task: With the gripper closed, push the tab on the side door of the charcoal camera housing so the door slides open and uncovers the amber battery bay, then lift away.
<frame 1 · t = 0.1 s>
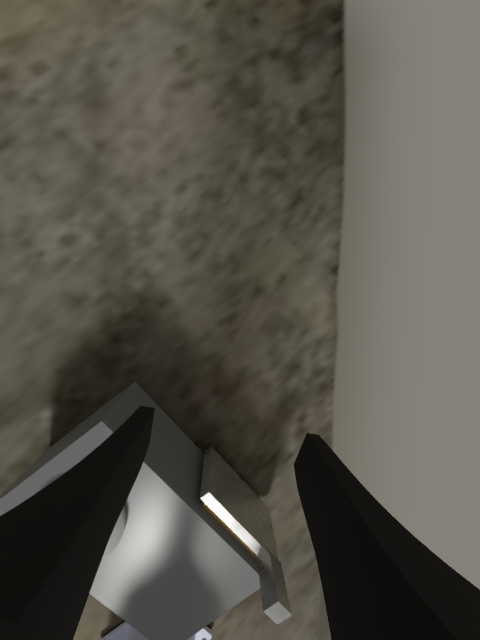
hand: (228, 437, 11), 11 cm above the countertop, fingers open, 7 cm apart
side door: (240, 521, 19), point 5 cm above the countertop, slide at 0.0 cm
camera housing: (159, 480, 23), on the countertop
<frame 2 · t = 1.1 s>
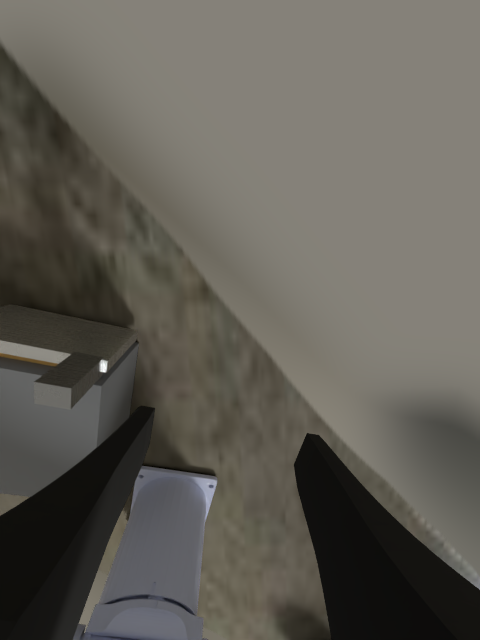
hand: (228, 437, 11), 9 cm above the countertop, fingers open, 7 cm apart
side door: (36, 344, 14), point 5 cm above the countertop, slide at 0.0 cm
camera housing: (22, 373, 20), on the countertop
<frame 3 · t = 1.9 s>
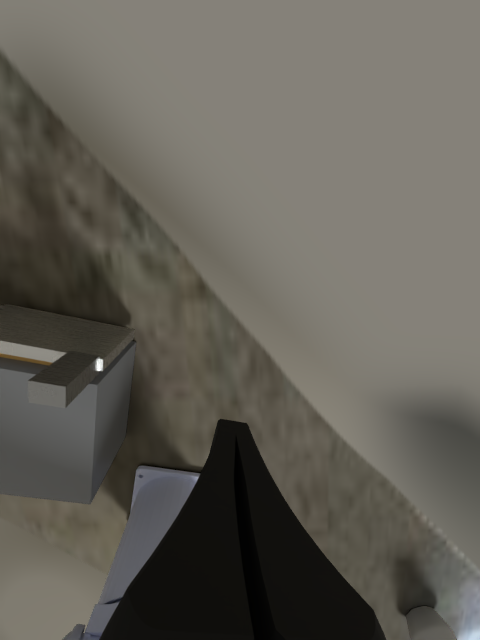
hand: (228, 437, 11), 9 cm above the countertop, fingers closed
salt shaker: (418, 611, 35), on the countertop
side door: (32, 343, 14), point 5 cm above the countertop, slide at 0.0 cm
camera housing: (19, 374, 20), on the countertop
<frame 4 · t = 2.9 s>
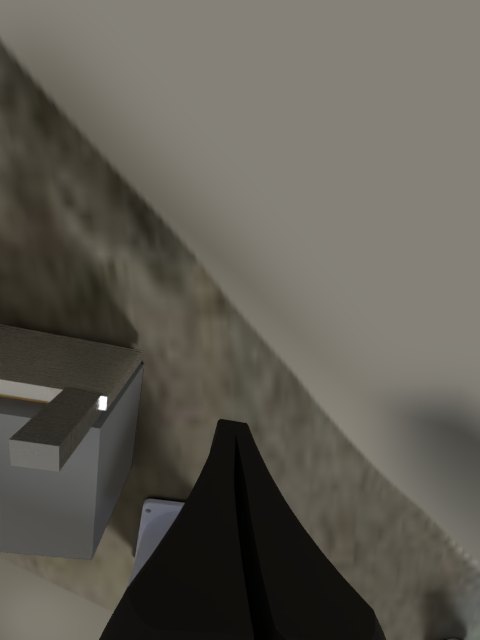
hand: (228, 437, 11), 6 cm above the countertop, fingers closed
side door: (19, 376, 12), point 5 cm above the countertop, slide at 0.0 cm
camera housing: (10, 400, 17), on the countertop
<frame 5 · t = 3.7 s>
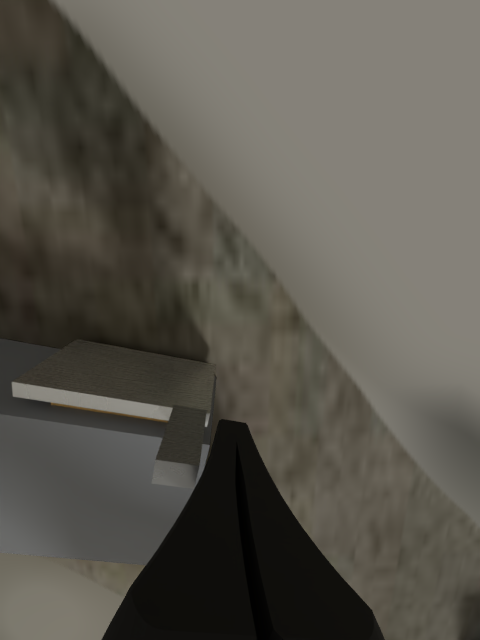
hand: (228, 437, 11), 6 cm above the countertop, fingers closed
side door: (122, 393, 12), point 5 cm above the countertop, slide at 0.3 cm, touching gripper
camera housing: (85, 412, 18), on the countertop
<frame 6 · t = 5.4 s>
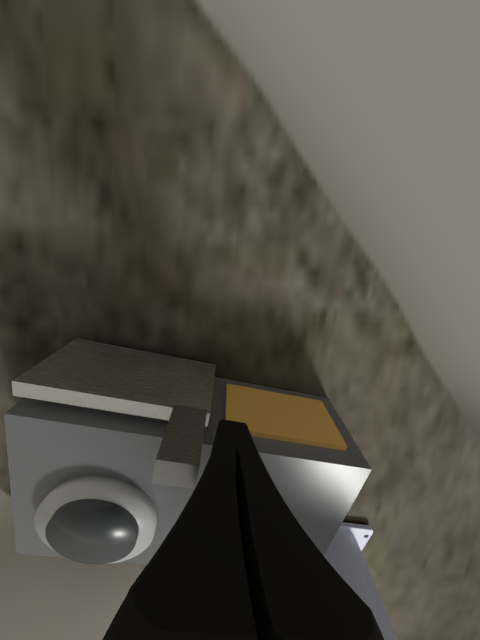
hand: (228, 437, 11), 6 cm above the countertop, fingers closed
side door: (123, 393, 12), point 5 cm above the countertop, slide at 9.0 cm, touching gripper
camera housing: (199, 430, 19), on the countertop
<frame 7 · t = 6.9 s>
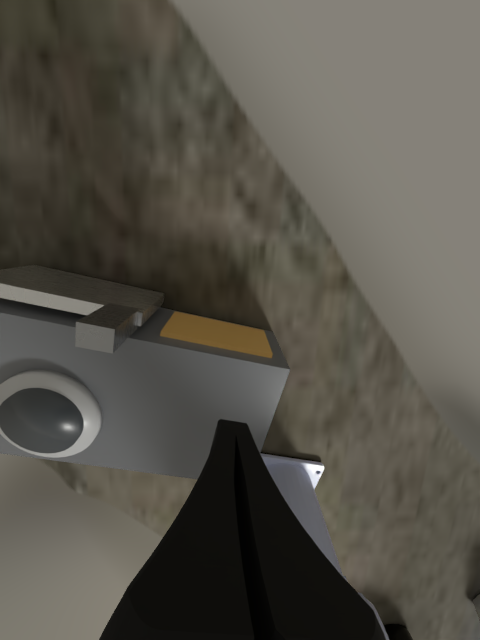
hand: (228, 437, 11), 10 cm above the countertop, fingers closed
supplement bottle: (386, 631, 39), on the countertop
side door: (67, 298, 14), point 5 cm above the countertop, slide at 9.0 cm
camera housing: (156, 362, 20), on the countertop
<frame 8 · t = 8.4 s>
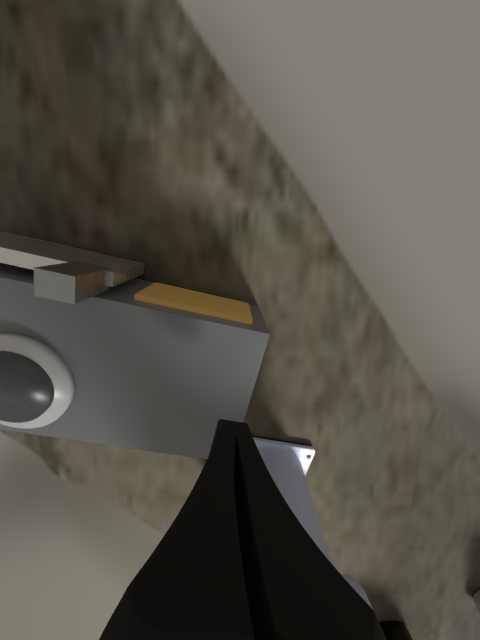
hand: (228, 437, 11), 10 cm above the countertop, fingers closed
supplement bottle: (384, 628, 38), on the countertop
side door: (36, 258, 13), point 5 cm above the countertop, slide at 9.0 cm
camera housing: (138, 339, 20), on the countertop
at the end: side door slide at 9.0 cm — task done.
